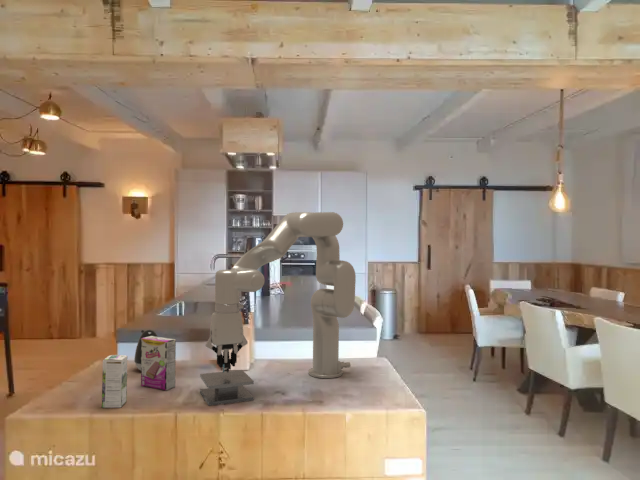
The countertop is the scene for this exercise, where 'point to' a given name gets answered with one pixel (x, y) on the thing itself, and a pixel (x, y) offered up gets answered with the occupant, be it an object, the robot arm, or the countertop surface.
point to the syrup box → (114, 381)
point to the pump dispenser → (138, 348)
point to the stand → (226, 387)
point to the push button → (226, 357)
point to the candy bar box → (158, 362)
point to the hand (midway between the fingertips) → (226, 365)
